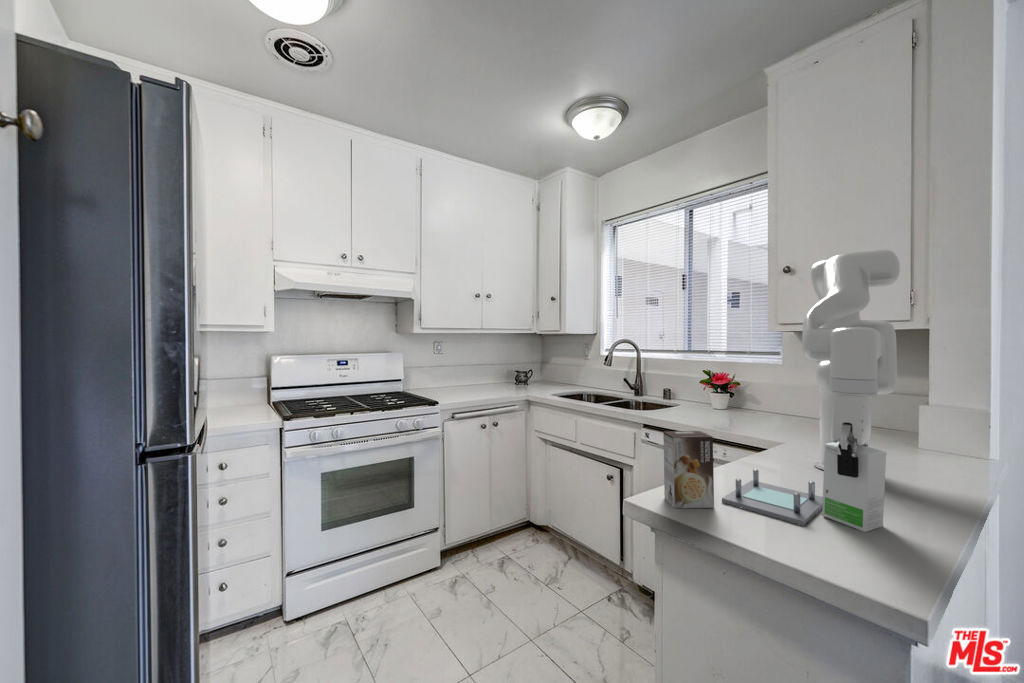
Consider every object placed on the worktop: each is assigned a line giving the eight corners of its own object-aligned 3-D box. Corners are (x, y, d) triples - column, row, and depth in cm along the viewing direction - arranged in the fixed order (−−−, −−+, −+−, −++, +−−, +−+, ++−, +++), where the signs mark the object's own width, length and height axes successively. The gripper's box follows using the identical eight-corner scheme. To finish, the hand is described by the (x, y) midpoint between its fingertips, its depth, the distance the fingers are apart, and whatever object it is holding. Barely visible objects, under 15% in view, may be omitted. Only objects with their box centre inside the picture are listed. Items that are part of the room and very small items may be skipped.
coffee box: (701, 497, 99) (701, 430, 99) (714, 508, 92) (714, 436, 92) (663, 497, 99) (662, 430, 99) (673, 509, 92) (673, 437, 92)
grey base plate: (752, 484, 107) (751, 479, 107) (827, 502, 95) (827, 497, 95) (721, 502, 96) (721, 497, 96) (803, 526, 83) (803, 520, 83)
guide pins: (754, 484, 104) (754, 468, 104) (815, 499, 94) (815, 482, 94) (734, 496, 96) (734, 479, 96) (799, 514, 87) (799, 495, 87)
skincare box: (821, 516, 88) (821, 443, 88) (840, 511, 91) (840, 439, 90) (868, 533, 80) (867, 453, 80) (887, 527, 83) (887, 449, 83)
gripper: (840, 383, 93) (840, 459, 93) (819, 388, 82) (819, 475, 82) (885, 386, 88) (885, 467, 88) (868, 392, 77) (868, 485, 76)
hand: (853, 471), depth 85 cm, fingers open, 9 cm apart
